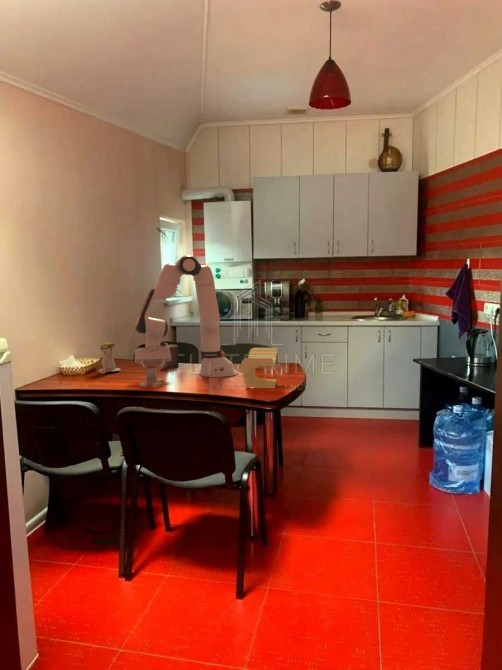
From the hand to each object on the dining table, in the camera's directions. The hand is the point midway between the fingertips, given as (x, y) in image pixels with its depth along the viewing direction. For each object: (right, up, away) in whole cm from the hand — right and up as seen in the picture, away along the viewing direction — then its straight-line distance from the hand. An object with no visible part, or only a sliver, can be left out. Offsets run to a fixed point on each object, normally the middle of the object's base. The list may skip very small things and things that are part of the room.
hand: (152, 367), depth 285 cm
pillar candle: (+4, -2, +39) cm, 39 cm away
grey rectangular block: (+1, -7, -5) cm, 9 cm away
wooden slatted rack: (+60, -9, -12) cm, 62 cm away
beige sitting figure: (-32, -5, +30) cm, 44 cm away
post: (+1, -9, -5) cm, 10 cm away
